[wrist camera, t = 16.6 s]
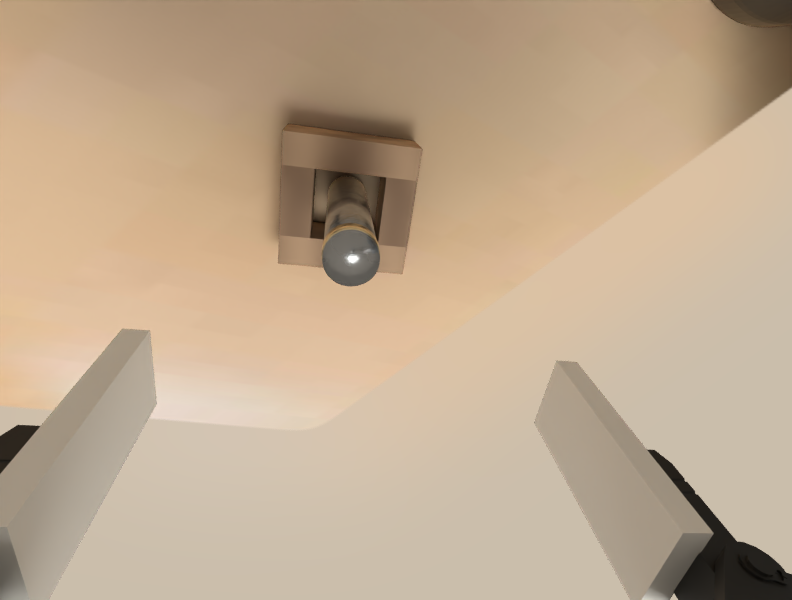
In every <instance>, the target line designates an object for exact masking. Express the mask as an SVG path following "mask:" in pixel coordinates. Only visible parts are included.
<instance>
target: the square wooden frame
mask: <svg viewBox="0 0 792 600" xmlns="http://www.w3.org/2000/svg"><path fill="white" fill-rule="evenodd" d="M421 155H422V148H421V147H420V146H419V145H418V144H417V143H416V142H415V141H412V140H404V139H397V138H389V137H382V136H375V135H367V134H360V133H352V132H345V131H337V130H330V129H323V128H315V127H308V126H300V125H293V124H288V125H287V126H286V127H285V128H284V129H283V130H282V159H281V190H280V222H279V254H278V263H279V264H290V265H302V266H313V267H323V263H322V245H323V241H324V233H325V223H318V222H313V210H314V195H315V179H316V169H321V170H330V171H338V172H346V173H354V174H363V175H371V176H379V177H381V178H380V186H379V194H378V202H377V210H376V218H375V226H374V231H375V236H376V239H377V242H378V246H379V250H380V264H379V268H378V270H377V272H382V273H394V274H403V268H404V262H405V256H406V250H407V243H408V237H409V231H410V224H411V218H412V212H413V206H414V199H415V193H416V187H417V180H418V174H419V168H420V161H421Z"/></svg>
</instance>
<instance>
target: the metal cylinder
mask: <svg viewBox="0 0 792 600" xmlns="http://www.w3.org/2000/svg"><path fill="white" fill-rule="evenodd" d="M322 263H323V267H324V270H325V272H326V273H327V275H328V276H329V277H330V278H331V279H332V280H333V281H335V282H336V283H339V284H341V285H345V286H358V285H361V284H364V283H366V282H367V281H369V280H370V279H371V278H372V277H373V276H374V275H375V274H376V272H377V270H378V268H379V264H380V250H379V246H378V242H377V239H376V236H375V231H374V227H373V222H372V218H371V213H370V208H369V204H368V199H367V195H366V190H365V187H364V185H363V184H362V183H361V182H360V181H359V180H358V179H357V178H355V177H352V176H342V177H339V178H337V179H336V180H334V181H333V182H332V184H331V185H330V187H329V191H328V200H327V211H326V222H325V233H324V241H323V245H322Z"/></svg>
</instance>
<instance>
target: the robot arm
mask: <svg viewBox="0 0 792 600" xmlns="http://www.w3.org/2000/svg"><path fill="white" fill-rule="evenodd" d="M712 1H713V2H714V4H715V5H716V6H717V7H718V8H719V9H720V10H721V11H722V12H723V13H724V14H725V15H727V16H728V17H730V18H731V19H733V20H735V21H737V22H739V23H742V24H745V25H749V26H754V27H777V26H787V25H792V0H712ZM156 404H157V402H156V391H155V380H154V369H153V358H152V347H151V336H150V331H146V330H133V329H122V330H121V331H120V332H119V333H118V335H117V336H116V337H115V338H114V339H113V341H112V342H111V343H110V344H109V345H108V346H107V348H106V349H105V350H104V351H103V352H102V354H101V355H100V356H99V357H98V358H97V360H96V361H95V362H94V363H93V364H92V365H91V367H90V368H89V369H88V370H87V371H86V373H85V374H84V375H83V376H82V377H81V379H80V380H79V381H78V382H77V383H76V385H75V386H74V387H73V388H72V389H71V390H70V392H69V393H68V394H67V395H66V396H65V398H64V399H63V400H62V401H61V402H60V404H59V405H58V406H57V407H56V408H55V410H54V411H53V412H52V413H51V414H50V416H49V417H48V418H47V419H46V420H45V422H44V423H43V424H42V425H41V426H29V425H17V426H16V427H14V428H12V429H11V430H9V431H8V432H6V433H4V434H3V435H1V436H0V600H49V598H50V597H51V595H52V593H53V591H54V589H55V587H56V586H57V584H58V582H59V580H60V578H61V576H62V575H63V573H64V571H65V569H66V568H67V566H68V564H69V562H70V560H71V558H72V557H73V555H74V553H75V551H76V549H77V548H78V546H79V544H80V542H81V540H82V538H83V537H84V535H85V533H86V531H87V529H88V527H89V526H90V524H91V522H92V520H93V519H94V517H95V515H96V513H97V511H98V509H99V508H100V506H101V504H102V502H103V500H104V499H105V497H106V495H107V493H108V491H109V489H110V488H111V486H112V484H113V482H114V480H115V479H116V477H117V475H118V473H119V471H120V469H121V468H122V466H123V464H124V462H125V460H126V459H127V457H128V455H129V453H130V451H131V449H132V448H133V446H134V444H135V442H136V440H137V439H138V436H139V435H140V433H141V431H142V429H143V428H144V426H145V424H146V422H147V420H148V419H149V417H150V415H151V413H152V411H153V410H154V408H155V406H156ZM534 423H535V425H536V427H537V429H538V431H539V432H540V434H541V436H542V438H543V440H544V442H545V443H546V445H547V447H548V449H549V451H550V453H551V455H552V456H553V458H554V460H555V462H556V464H557V465H558V467H559V469H560V471H561V473H562V475H563V477H564V478H565V480H566V482H567V484H568V486H569V488H570V489H571V491H572V493H573V495H574V497H575V499H576V501H577V502H578V504H579V506H580V508H581V510H582V512H583V514H584V515H585V517H586V519H587V521H588V523H589V525H590V527H591V528H592V530H593V532H594V534H595V536H596V538H597V539H598V541H599V543H600V545H601V547H602V549H603V550H604V552H605V554H606V556H607V558H608V560H609V561H610V563H611V565H612V567H613V569H614V571H615V573H616V574H617V576H618V578H619V580H620V582H621V584H622V586H623V587H624V589H625V591H626V593H627V595H628V597H629V598H630V600H670V598H671V597H672V595H673V594H674V593H675V595H676V597H677V598H678V600H792V574H789V573H786V572H785V571H784V569H783V568H782V567H781V566H780V565H779V564H778V563H777V562H776V561H775V560H774V559H773V558H771V557H770V556H769V555H768V554H766V553H764V552H763V551H761V550H760V549H758V548H756V547H754V546H752V545H749V544H746V543H744V542H737V541H736V540H735V539H734V538H733V536H732V535H731V534H730V533H729V532H728V531H727V529H726V528H725V527H724V526H723V524H722V523H721V522H720V521H719V520H718V518H717V517H716V516H715V515H714V514H713V512H712V511H711V510H710V509H709V508H708V506H707V505H706V504H705V503H704V502H703V500H702V499H701V498H700V497H699V496H698V495H696V494H695V491H694V490H693V488H692V487H691V486H690V485H689V484H688V483H687V482H685V481H684V478H683V476H682V475H681V474H680V473H679V472H678V470H677V469H676V468H675V467H674V466H673V464H672V463H670V462H669V461H668V460H666V459H665V458H664V457H663V456H661V455H660V454H659V453H657V452H656V451H655V450H647V449H646V448H645V447H644V445H643V444H642V443H641V442H640V441H639V439H638V438H637V437H636V435H635V434H634V433H633V432H632V430H630V428H629V427H628V425H627V424H626V423H625V422H624V420H623V419H622V418H621V417H620V415H619V414H618V413H617V412H616V410H615V409H614V408H613V407H612V405H611V404H610V403H609V402H608V400H607V399H606V398H605V397H604V395H603V394H602V393H601V392H600V390H598V388H597V387H596V385H595V384H594V383H593V382H592V380H591V379H590V378H589V377H588V376H587V374H586V373H585V372H584V370H583V369H582V368H581V367H580V365H579V364H578V363H577V362H568V361H556V364H555V366H554V369H553V372H552V374H551V378H550V380H549V383H548V386H547V389H546V391H545V394H544V397H543V399H542V402H541V405H540V408H539V410H538V413H537V416H536V419H535V422H534Z"/></svg>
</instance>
